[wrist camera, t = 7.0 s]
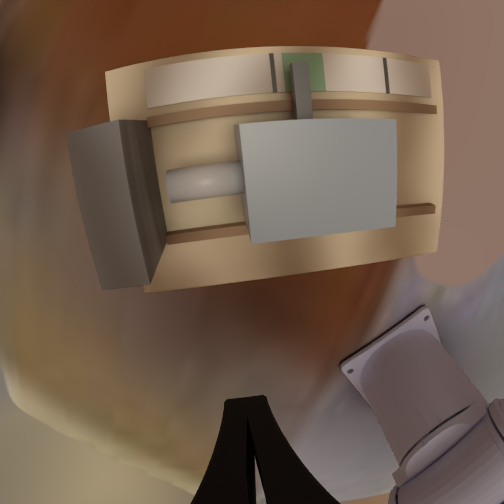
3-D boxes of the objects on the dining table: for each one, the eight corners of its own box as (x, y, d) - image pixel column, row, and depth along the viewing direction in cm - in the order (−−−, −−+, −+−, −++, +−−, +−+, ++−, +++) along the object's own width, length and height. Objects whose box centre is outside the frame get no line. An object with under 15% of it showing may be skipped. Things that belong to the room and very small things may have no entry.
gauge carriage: (351, 68, 13) (390, 55, 10) (357, 202, 16) (395, 226, 12) (163, 80, 13) (144, 65, 9) (182, 222, 15) (172, 254, 12)
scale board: (427, 63, 14) (498, 53, 9) (427, 245, 19) (485, 288, 13) (112, 75, 13) (59, 54, 8) (149, 282, 18) (124, 350, 12)
